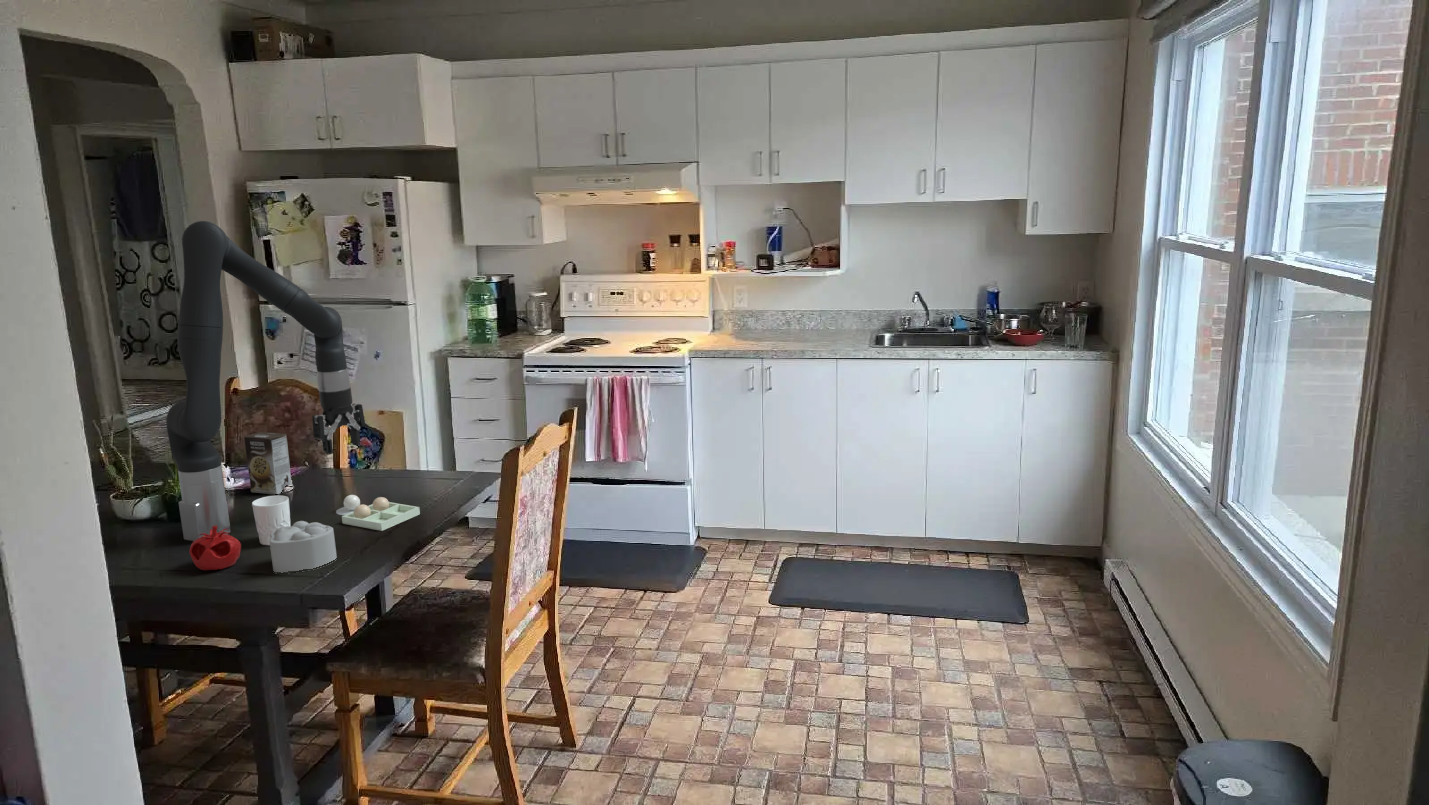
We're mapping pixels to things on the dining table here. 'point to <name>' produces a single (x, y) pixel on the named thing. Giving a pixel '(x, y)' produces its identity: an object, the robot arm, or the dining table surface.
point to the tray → (380, 514)
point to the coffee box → (268, 462)
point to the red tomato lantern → (215, 550)
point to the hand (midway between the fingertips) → (342, 449)
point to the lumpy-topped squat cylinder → (302, 546)
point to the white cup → (270, 515)
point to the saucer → (344, 511)
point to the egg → (351, 502)
